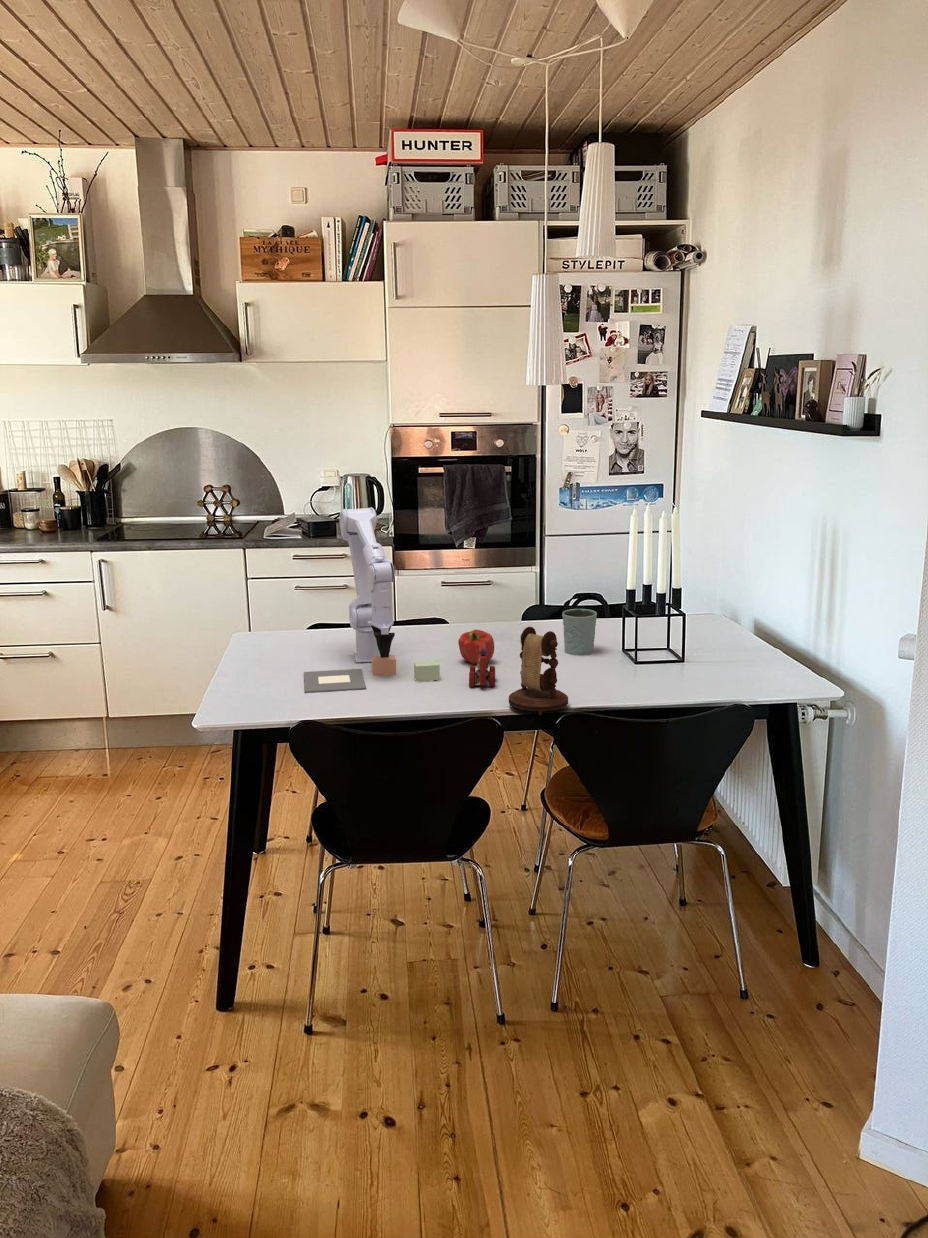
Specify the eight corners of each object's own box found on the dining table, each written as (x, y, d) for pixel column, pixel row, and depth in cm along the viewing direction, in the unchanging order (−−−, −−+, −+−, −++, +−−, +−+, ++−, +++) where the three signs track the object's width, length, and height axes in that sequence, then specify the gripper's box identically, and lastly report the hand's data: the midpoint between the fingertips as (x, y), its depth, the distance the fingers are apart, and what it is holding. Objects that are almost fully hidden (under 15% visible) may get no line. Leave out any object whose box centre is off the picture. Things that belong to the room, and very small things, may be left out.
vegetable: (487, 669, 279) (487, 634, 277) (452, 666, 283) (452, 632, 280) (498, 659, 289) (498, 625, 287) (465, 656, 293) (464, 623, 290)
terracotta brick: (371, 671, 278) (371, 656, 277) (394, 670, 279) (394, 655, 278) (373, 676, 274) (372, 660, 273) (396, 675, 275) (395, 659, 274)
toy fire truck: (468, 690, 261) (468, 652, 258) (469, 676, 273) (469, 640, 270) (495, 690, 260) (495, 652, 258) (495, 676, 272) (495, 640, 270)
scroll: (496, 707, 247) (496, 629, 242) (535, 694, 257) (536, 618, 252) (541, 721, 237) (541, 640, 232) (580, 706, 247) (581, 628, 242)
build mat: (303, 673, 277) (303, 671, 277) (361, 670, 280) (361, 668, 280) (304, 693, 260) (304, 691, 260) (366, 689, 262) (366, 687, 262)
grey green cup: (595, 647, 300) (596, 608, 297) (596, 656, 290) (597, 616, 288) (561, 647, 301) (562, 608, 298) (561, 656, 291) (562, 616, 289)
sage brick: (414, 677, 273) (414, 662, 271) (437, 676, 274) (437, 660, 272) (416, 682, 268) (415, 666, 267) (439, 681, 269) (439, 665, 268)
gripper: (365, 600, 279) (367, 647, 282) (369, 612, 265) (371, 661, 268) (390, 599, 280) (391, 646, 283) (395, 610, 266) (397, 659, 269)
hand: (383, 653), depth 275 cm, fingers open, 7 cm apart
